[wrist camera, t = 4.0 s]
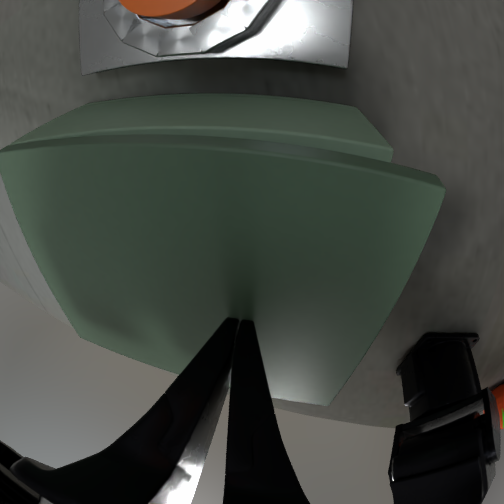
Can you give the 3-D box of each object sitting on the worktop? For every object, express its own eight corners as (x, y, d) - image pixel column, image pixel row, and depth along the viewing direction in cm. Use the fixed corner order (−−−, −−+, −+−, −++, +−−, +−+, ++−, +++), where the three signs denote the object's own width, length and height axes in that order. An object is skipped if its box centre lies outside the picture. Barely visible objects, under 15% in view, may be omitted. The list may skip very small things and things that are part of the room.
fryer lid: (437, 174, 6) (448, 189, 5) (330, 392, 13) (328, 406, 12) (8, 144, 8) (-6, 153, 7) (85, 328, 15) (79, 337, 15)
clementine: (474, 391, 27) (481, 436, 22) (515, 367, 23) (527, 413, 18) (484, 400, 30) (490, 439, 24) (519, 380, 26) (528, 419, 20)
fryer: (356, 106, 11) (395, 149, 7) (317, 291, 18) (316, 371, 14) (86, 103, 12) (8, 144, 8) (123, 264, 20) (85, 327, 15)
